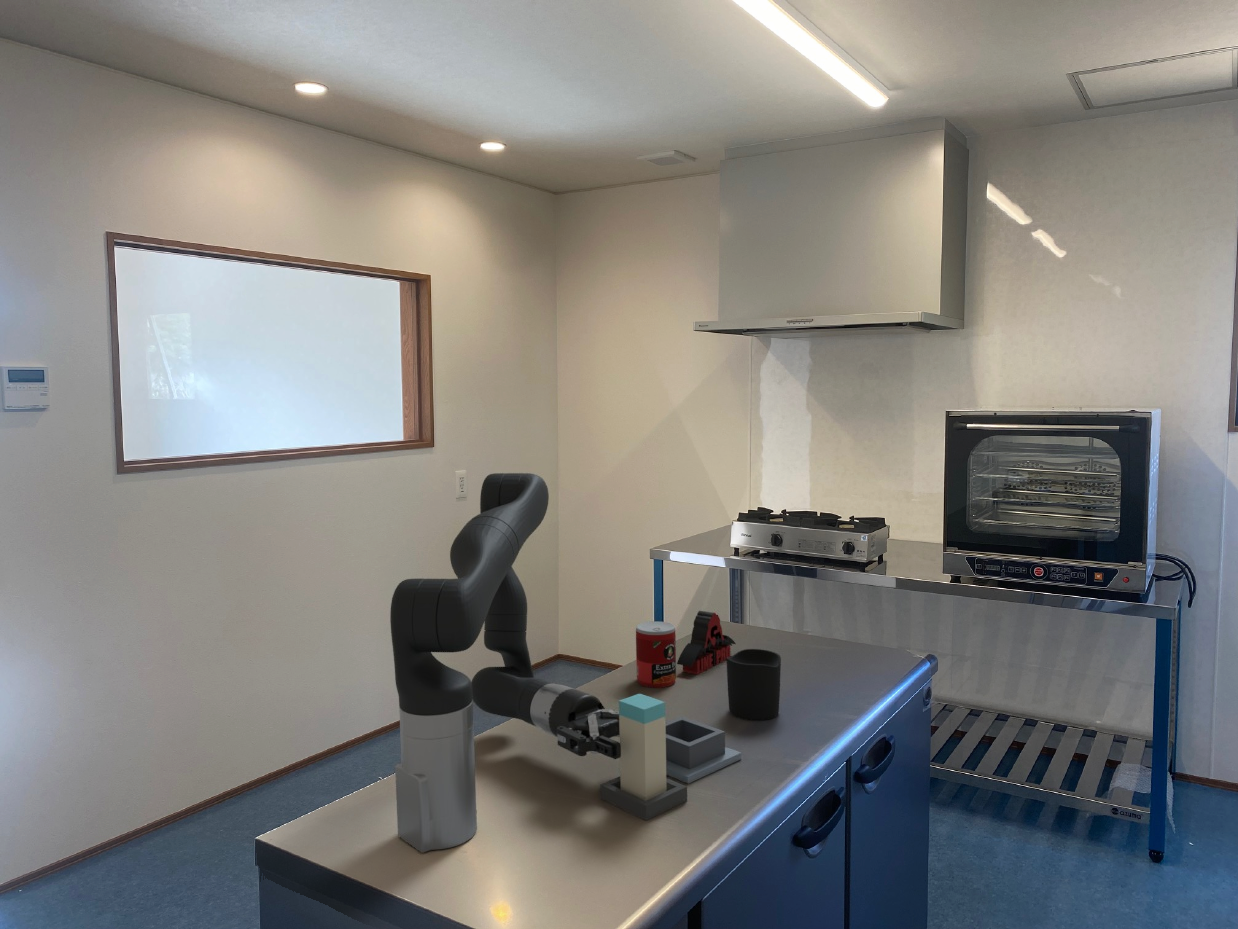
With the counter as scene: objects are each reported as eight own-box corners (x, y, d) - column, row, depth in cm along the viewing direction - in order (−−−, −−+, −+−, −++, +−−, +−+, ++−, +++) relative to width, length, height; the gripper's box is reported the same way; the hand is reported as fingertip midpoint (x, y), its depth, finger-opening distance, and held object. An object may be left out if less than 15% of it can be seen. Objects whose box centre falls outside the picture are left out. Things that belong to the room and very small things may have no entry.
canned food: (656, 691, 167) (655, 634, 166) (628, 681, 173) (627, 626, 172) (684, 681, 172) (684, 626, 171) (656, 672, 178) (655, 619, 177)
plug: (646, 810, 119) (644, 709, 118) (620, 798, 123) (618, 700, 122) (666, 800, 122) (665, 702, 121) (641, 789, 126) (639, 693, 125)
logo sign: (691, 678, 174) (691, 622, 174) (676, 675, 176) (676, 620, 176) (735, 655, 189) (735, 604, 188) (721, 652, 191) (721, 602, 190)
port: (688, 783, 127) (687, 753, 127) (630, 759, 136) (630, 731, 136) (741, 759, 135) (740, 730, 135) (683, 737, 144) (683, 710, 144)
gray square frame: (646, 820, 117) (645, 805, 116) (600, 798, 123) (600, 784, 123) (687, 800, 122) (686, 786, 122) (641, 780, 129) (641, 767, 128)
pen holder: (788, 720, 151) (788, 662, 150) (735, 724, 150) (735, 666, 149) (770, 701, 160) (770, 647, 160) (720, 705, 159) (719, 650, 158)
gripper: (528, 701, 129) (603, 730, 117) (600, 678, 138) (676, 703, 127) (529, 751, 129) (604, 785, 118) (601, 724, 139) (677, 753, 127)
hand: (641, 742), depth 122 cm, fingers open, 8 cm apart
